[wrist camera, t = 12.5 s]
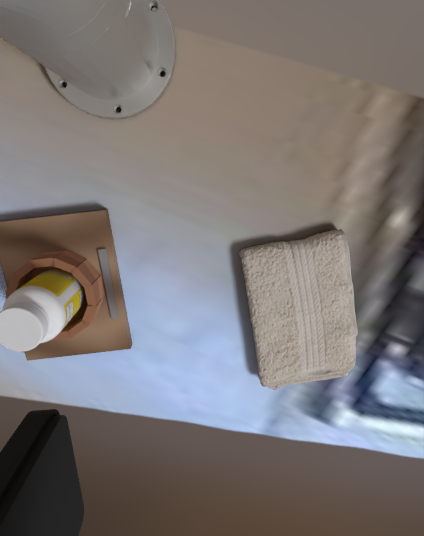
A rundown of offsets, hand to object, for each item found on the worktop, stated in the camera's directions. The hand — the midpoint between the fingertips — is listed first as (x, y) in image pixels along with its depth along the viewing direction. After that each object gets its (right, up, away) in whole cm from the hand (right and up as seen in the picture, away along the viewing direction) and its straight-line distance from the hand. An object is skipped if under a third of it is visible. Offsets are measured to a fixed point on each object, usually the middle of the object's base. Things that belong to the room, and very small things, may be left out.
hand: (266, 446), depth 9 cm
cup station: (-18, +2, +32) cm, 37 cm away
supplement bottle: (-17, +2, +31) cm, 35 cm away
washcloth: (+9, -1, +35) cm, 36 cm away
